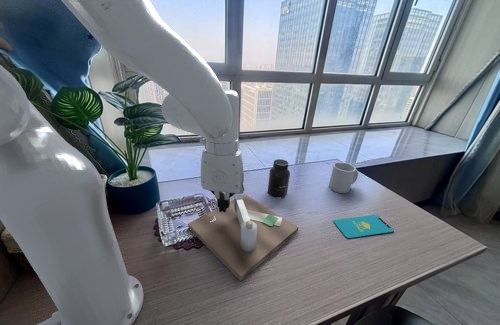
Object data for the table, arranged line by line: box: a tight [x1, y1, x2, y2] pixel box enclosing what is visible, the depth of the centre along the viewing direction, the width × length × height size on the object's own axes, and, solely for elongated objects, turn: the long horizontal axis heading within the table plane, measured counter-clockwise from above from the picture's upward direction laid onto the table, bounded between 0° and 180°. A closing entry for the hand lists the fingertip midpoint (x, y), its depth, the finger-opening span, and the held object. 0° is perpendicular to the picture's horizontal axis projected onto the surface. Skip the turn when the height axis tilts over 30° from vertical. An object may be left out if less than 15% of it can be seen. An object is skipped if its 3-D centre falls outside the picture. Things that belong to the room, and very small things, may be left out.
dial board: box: [187, 193, 299, 282], centre depth 57 cm, size 21×21×2 cm
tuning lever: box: [233, 194, 257, 252], centre depth 53 cm, size 14×4×7 cm, turn 15°
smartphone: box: [332, 214, 395, 240], centre depth 60 cm, size 7×1×15 cm
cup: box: [328, 161, 359, 194], centre depth 77 cm, size 7×10×9 cm
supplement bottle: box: [267, 159, 291, 199], centre depth 71 cm, size 7×7×12 cm
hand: (223, 208), depth 57 cm, fingers closed
